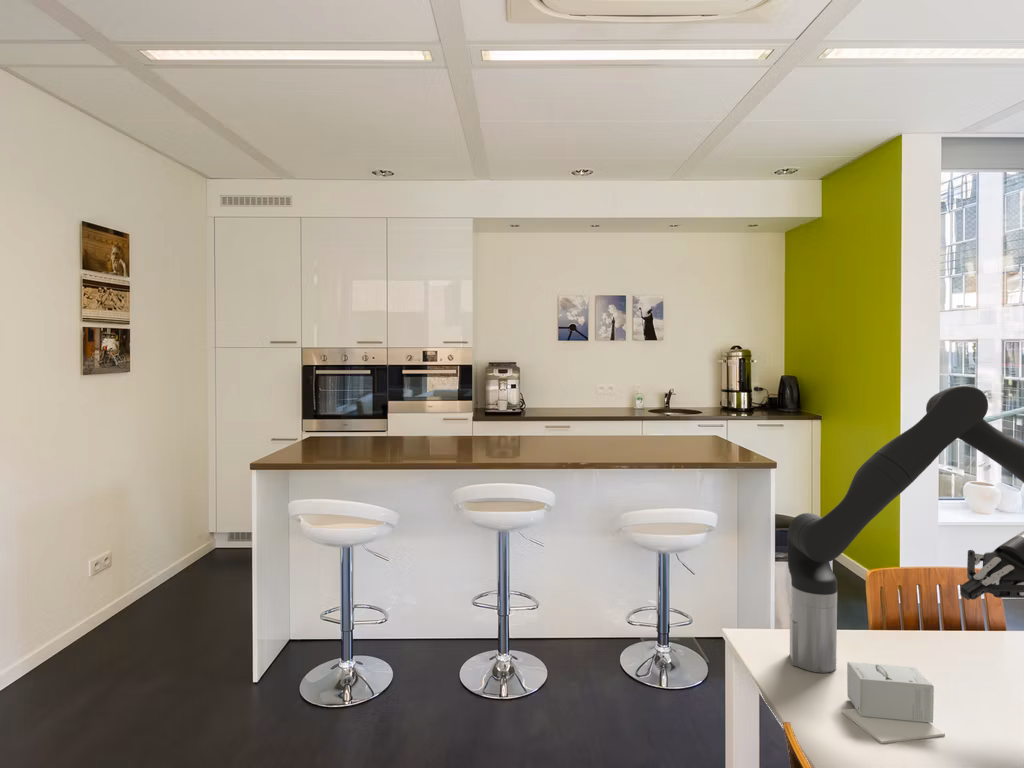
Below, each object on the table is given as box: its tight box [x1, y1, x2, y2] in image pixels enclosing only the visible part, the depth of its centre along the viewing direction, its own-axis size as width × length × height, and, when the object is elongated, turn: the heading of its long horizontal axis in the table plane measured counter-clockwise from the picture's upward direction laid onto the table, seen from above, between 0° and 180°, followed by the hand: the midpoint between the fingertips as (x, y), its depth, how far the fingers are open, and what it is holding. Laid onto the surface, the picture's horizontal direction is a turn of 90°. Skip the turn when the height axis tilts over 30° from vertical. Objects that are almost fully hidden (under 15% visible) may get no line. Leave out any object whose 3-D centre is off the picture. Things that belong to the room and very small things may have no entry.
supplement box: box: [846, 661, 935, 724], centre depth 118 cm, size 7×7×13 cm
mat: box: [841, 708, 946, 744], centre depth 114 cm, size 13×10×1 cm
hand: (964, 594), depth 121 cm, fingers closed
